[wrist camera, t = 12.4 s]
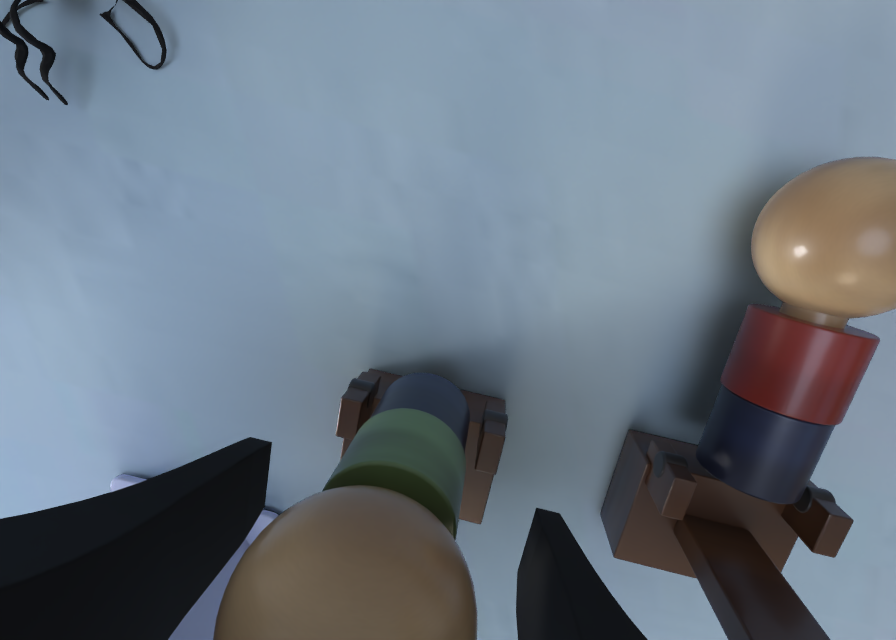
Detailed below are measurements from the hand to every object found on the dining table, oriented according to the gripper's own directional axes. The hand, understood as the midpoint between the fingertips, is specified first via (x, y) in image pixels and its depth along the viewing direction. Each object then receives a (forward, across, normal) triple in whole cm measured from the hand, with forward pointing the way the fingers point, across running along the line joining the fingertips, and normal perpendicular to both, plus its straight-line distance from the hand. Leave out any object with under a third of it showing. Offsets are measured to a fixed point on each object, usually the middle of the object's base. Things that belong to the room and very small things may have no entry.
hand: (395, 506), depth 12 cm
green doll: (-1, 0, -3) cm, 3 cm away
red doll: (+6, -11, -6) cm, 14 cm away
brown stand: (+7, -11, +1) cm, 13 cm away
